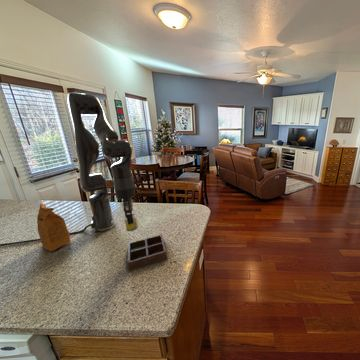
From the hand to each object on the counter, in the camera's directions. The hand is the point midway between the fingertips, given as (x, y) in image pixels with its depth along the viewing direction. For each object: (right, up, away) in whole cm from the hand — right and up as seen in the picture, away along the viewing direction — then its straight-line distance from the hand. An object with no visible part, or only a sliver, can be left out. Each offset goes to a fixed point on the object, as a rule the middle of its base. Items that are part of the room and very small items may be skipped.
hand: (130, 220), depth 87 cm
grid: (+6, -17, +4) cm, 19 cm away
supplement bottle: (0, -4, +1) cm, 5 cm away
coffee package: (-45, -15, +11) cm, 48 cm away
